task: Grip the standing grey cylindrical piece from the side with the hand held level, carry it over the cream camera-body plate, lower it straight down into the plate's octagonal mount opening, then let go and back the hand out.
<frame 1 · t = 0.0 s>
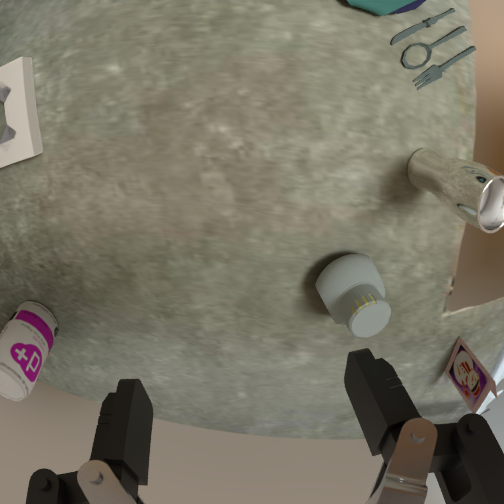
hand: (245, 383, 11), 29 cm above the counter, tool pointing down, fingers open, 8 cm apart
beer glass: (423, 168, 39), on the counter
air freshener: (343, 278, 46), on the counter
greeting card: (460, 350, 60), on the counter
supplement can: (39, 318, 43), on the counter
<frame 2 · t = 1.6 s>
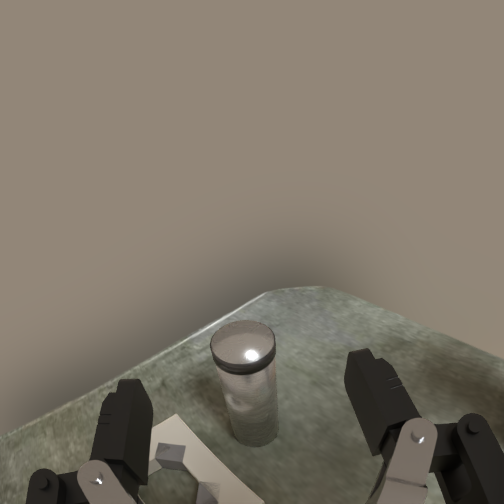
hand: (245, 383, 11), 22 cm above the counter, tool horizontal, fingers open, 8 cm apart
grey cylindrical piece: (256, 428, 31), on the counter
mount plate: (169, 497, 24), on the counter
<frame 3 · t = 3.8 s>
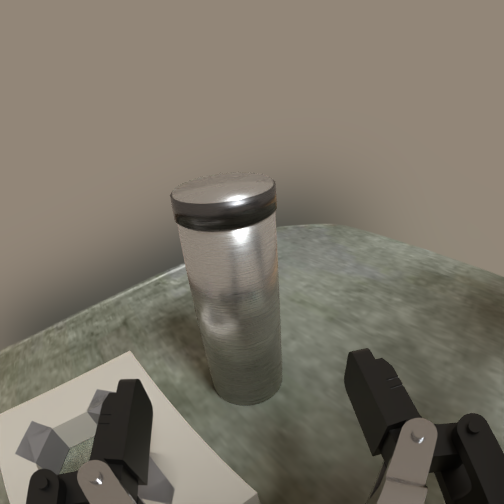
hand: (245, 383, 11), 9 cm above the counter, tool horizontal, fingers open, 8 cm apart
grey cylindrical piece: (247, 378, 22), on the counter
mount plate: (105, 477, 14), on the counter
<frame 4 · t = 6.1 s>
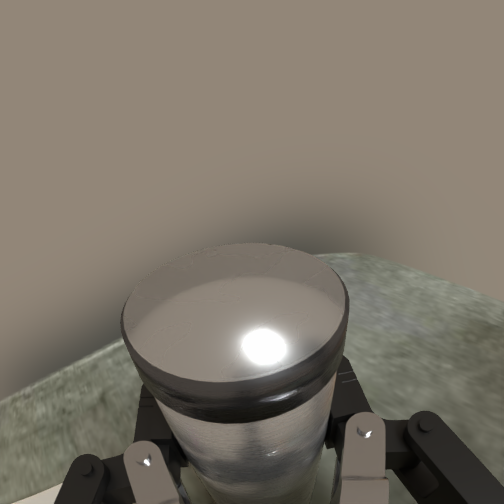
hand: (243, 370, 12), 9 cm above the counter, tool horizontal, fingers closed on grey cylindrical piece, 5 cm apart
grey cylindrical piece: (264, 496, 14), on the counter, touching gripper
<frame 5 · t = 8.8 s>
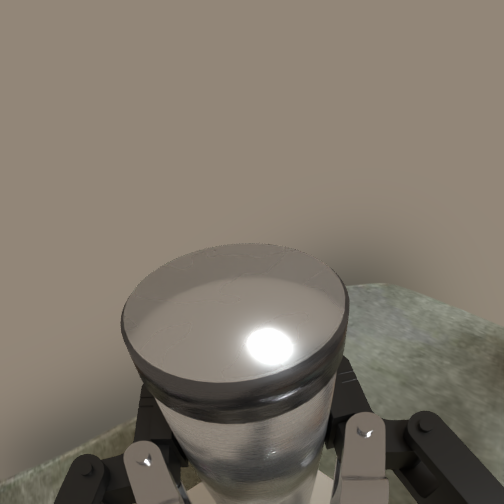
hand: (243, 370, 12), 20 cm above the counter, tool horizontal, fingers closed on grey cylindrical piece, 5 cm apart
grey cylindrical piece: (264, 496, 14), point 11 cm above the counter, touching gripper
when the fingers open (10 cm above the counter, at t = 11.6 s): grey cylindrical piece drops 1 cm, resting in mount plate.
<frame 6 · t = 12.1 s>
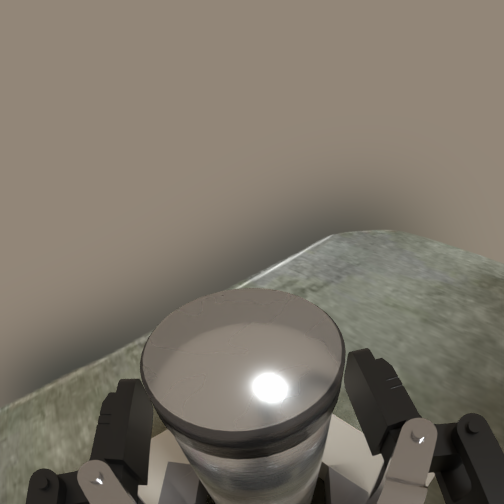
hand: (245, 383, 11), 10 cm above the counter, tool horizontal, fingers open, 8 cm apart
mount plate: (265, 503, 14), on the counter
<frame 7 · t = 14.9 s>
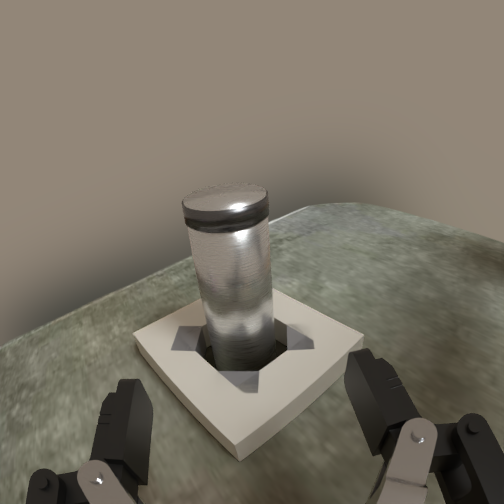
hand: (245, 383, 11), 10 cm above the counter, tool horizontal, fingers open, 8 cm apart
grey cylindrical piece: (245, 360, 25), resting in mount plate
mount plate: (245, 359, 26), on the counter
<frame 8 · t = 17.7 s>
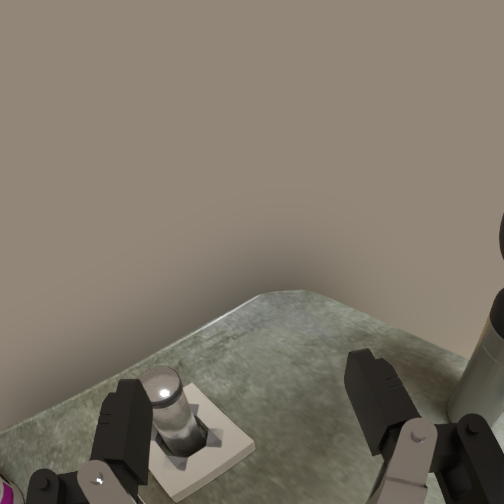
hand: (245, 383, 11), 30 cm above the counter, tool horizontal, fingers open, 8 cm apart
grey cylindrical piece: (186, 444, 37), resting in mount plate
mount plate: (186, 443, 37), on the counter
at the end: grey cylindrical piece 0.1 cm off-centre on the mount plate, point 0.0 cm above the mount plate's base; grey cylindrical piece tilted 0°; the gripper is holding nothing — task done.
